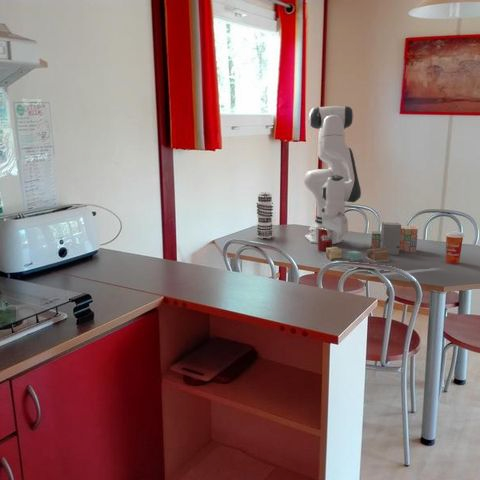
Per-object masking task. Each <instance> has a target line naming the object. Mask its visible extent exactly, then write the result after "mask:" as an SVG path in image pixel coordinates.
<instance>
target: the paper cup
mask: <svg viewBox="0 0 480 480" xmlns="http://www.w3.org/2000/svg"><path fill="white" fill-rule="evenodd" d="M445 236H446V237H445V239H446V240H445V242H446V243H445V245H446V246H445V262H446V264H449V265H458V264H459V263H460V258H461V252H462V246H463V240H464V237H465V236H464V234H463V232H461V231H456V230H453V231H452V230H451V231H447V232H446V234H445Z"/></svg>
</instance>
